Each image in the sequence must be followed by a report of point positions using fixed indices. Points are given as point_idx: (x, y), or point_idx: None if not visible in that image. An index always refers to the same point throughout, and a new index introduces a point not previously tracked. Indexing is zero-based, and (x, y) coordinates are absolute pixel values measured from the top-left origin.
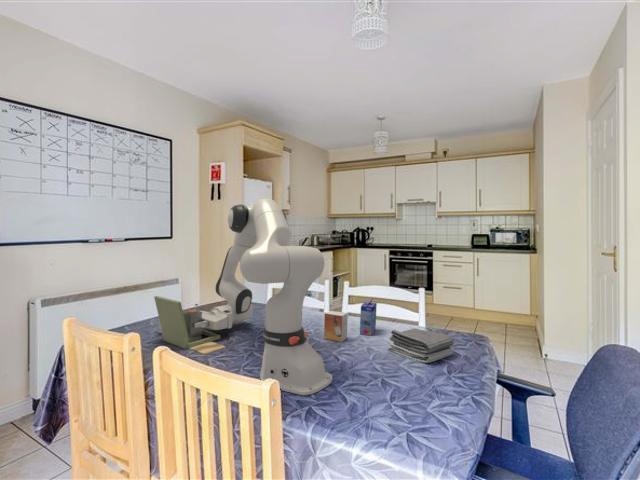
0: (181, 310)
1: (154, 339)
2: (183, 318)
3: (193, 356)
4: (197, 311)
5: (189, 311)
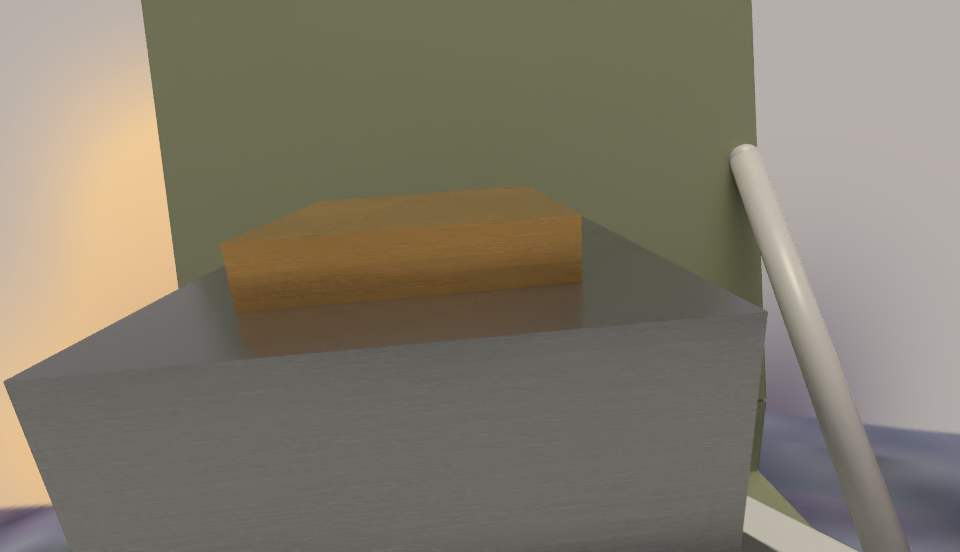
0: (160, 79)
1: (780, 451)
2: (172, 192)
3: (45, 517)
4: (241, 269)
5: (410, 194)
